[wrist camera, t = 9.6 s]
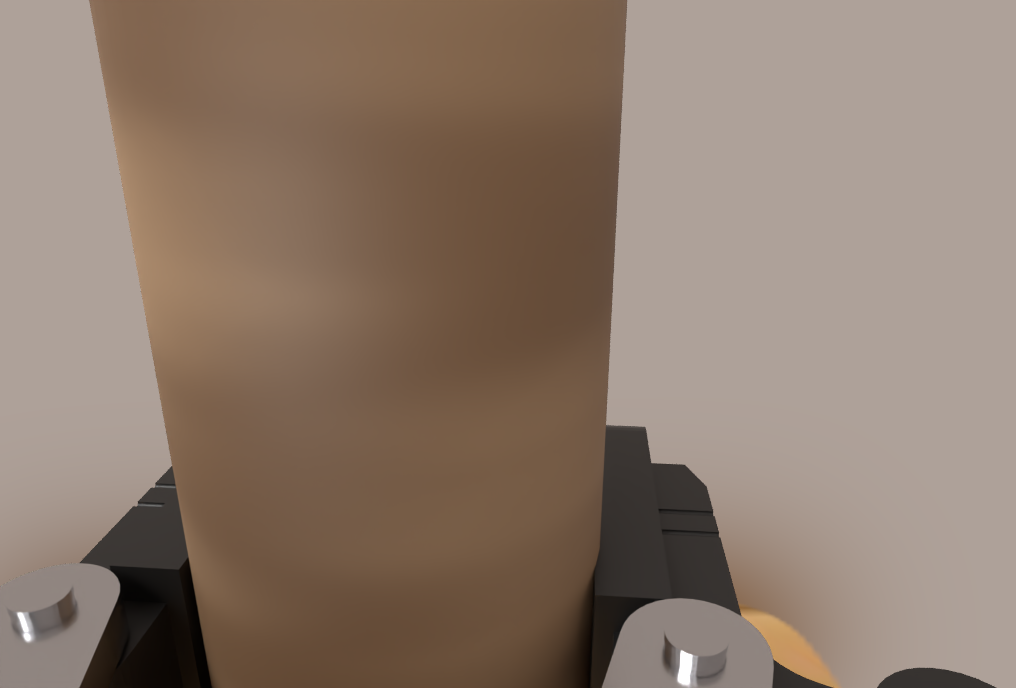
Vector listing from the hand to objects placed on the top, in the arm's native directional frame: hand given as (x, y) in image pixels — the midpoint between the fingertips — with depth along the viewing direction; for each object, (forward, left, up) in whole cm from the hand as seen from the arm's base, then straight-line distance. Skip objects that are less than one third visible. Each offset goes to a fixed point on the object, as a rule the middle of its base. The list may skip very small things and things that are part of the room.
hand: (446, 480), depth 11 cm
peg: (+1, -3, -8) cm, 9 cm away
